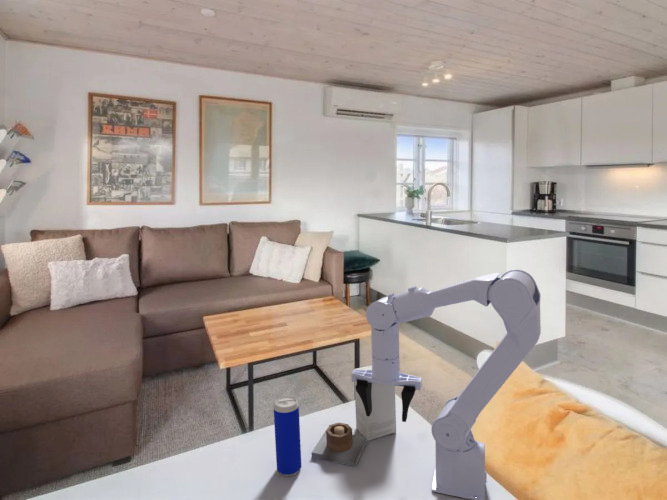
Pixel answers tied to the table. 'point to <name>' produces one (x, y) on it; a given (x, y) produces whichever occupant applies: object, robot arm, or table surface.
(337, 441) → the walnut ring
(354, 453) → the dowel stand
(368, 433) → the skincare box
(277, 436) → the beverage can
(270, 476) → the table surface
